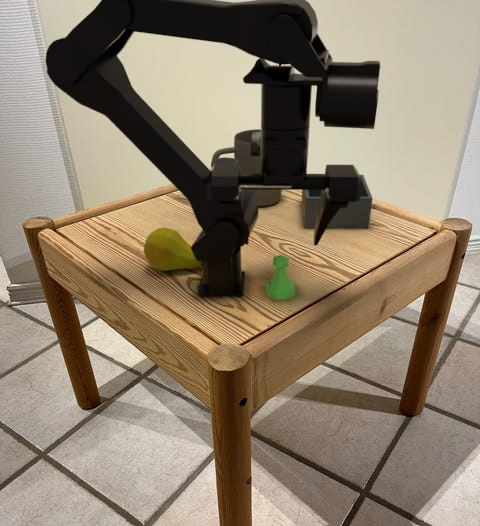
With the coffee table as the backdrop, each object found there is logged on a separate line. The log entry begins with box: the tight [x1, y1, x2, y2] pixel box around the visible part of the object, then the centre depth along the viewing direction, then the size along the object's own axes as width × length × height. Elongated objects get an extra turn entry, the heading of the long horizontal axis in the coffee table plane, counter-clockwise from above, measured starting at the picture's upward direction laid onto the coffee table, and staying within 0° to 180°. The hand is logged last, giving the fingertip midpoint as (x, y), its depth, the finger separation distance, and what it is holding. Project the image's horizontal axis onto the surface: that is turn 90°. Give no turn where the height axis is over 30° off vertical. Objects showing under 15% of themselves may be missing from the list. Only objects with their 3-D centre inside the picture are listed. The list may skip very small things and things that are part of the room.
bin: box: [301, 174, 373, 229], centre depth 93 cm, size 11×11×6 cm
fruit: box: [143, 226, 202, 271], centre depth 79 cm, size 6×6×12 cm
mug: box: [211, 128, 282, 207], centre depth 97 cm, size 14×9×12 cm
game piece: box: [265, 254, 296, 301], centre depth 72 cm, size 4×4×6 cm
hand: (281, 243), depth 69 cm, fingers open, 9 cm apart
